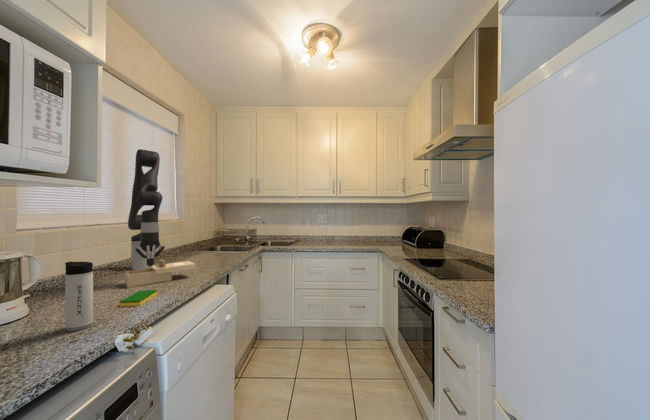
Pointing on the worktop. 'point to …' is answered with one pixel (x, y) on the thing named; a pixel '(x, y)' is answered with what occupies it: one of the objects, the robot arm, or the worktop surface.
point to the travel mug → (78, 295)
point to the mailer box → (145, 277)
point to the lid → (172, 266)
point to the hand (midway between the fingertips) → (150, 266)
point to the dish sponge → (138, 298)
